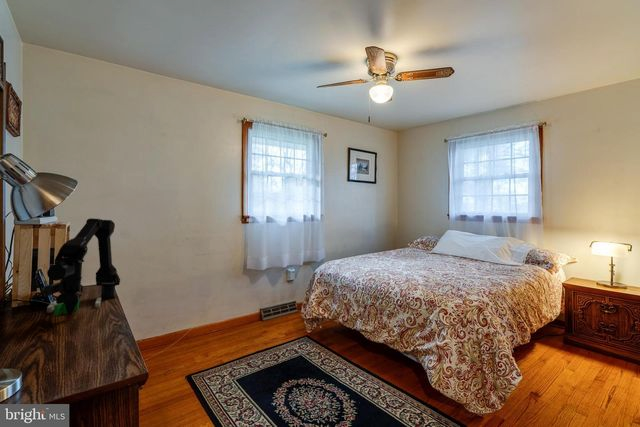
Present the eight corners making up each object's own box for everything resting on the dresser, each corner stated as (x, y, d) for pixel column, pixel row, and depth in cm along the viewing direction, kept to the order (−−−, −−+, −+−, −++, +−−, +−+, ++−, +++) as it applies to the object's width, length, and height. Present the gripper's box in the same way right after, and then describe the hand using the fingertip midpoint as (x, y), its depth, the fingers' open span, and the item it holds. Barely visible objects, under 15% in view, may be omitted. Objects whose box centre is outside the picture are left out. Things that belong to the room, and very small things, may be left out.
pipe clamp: (63, 317, 121) (64, 305, 121) (53, 316, 121) (54, 305, 121) (83, 308, 132) (84, 297, 132) (74, 308, 132) (75, 297, 132)
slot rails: (52, 305, 134) (52, 300, 134) (101, 300, 143) (101, 296, 143) (46, 312, 124) (47, 308, 124) (99, 307, 133) (99, 303, 133)
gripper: (49, 272, 122) (47, 311, 121) (38, 281, 106) (35, 326, 106) (84, 270, 128) (82, 307, 127) (79, 279, 112) (76, 321, 112)
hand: (69, 315), depth 118 cm, fingers closed
